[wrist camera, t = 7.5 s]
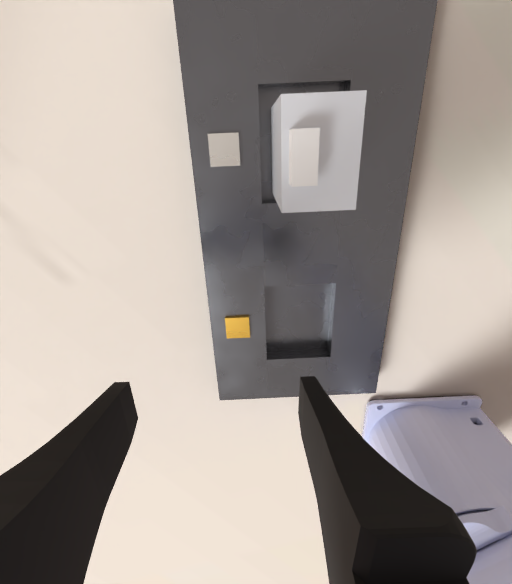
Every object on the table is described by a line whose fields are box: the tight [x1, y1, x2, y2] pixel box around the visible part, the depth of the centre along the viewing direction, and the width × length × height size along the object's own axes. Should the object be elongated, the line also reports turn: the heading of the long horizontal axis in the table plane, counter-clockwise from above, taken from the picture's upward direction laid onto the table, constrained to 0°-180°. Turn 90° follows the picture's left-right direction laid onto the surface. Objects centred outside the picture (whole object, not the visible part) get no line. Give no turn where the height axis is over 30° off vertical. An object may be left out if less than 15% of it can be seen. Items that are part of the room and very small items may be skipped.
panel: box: [173, 0, 437, 400], centre depth 20 cm, size 12×24×2 cm, turn 2°
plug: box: [271, 90, 367, 213], centre depth 15 cm, size 3×4×7 cm
